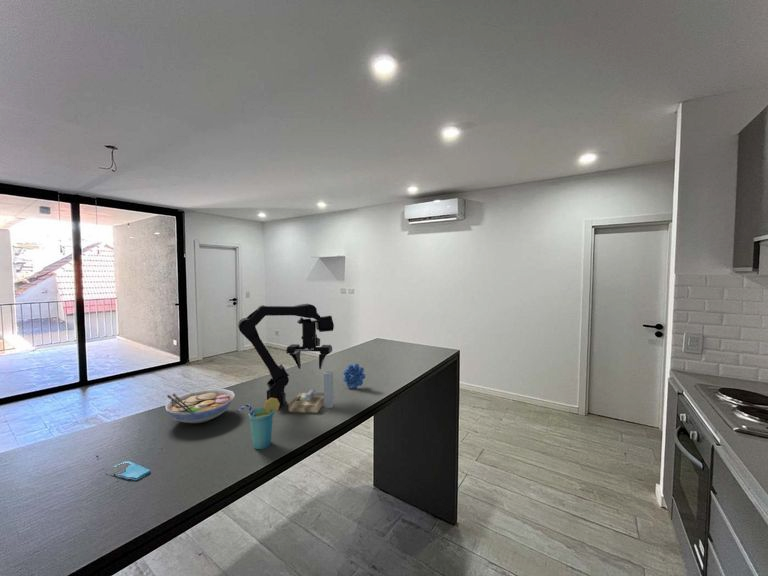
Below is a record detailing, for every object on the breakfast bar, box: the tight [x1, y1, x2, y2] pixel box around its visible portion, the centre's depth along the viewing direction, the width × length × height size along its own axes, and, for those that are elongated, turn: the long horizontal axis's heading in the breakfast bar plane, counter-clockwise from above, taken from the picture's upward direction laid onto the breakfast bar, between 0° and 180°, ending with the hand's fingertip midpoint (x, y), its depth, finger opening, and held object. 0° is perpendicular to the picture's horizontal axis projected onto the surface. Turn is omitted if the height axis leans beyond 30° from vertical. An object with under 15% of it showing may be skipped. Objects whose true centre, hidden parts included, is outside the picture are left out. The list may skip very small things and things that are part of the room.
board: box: [287, 392, 324, 414], centre depth 132 cm, size 12×12×3 cm
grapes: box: [342, 363, 366, 390], centre depth 152 cm, size 12×7×12 cm, turn 66°
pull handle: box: [306, 371, 335, 409], centre depth 131 cm, size 10×6×14 cm, turn 84°
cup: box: [236, 398, 280, 450], centre depth 101 cm, size 14×8×15 cm, turn 146°
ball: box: [300, 395, 306, 401], centre depth 132 cm, size 4×4×4 cm
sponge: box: [113, 460, 152, 479], centre depth 88 cm, size 2×12×6 cm
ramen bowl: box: [164, 388, 236, 424], centre depth 121 cm, size 25×23×8 cm
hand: (309, 368), depth 139 cm, fingers open, 9 cm apart
